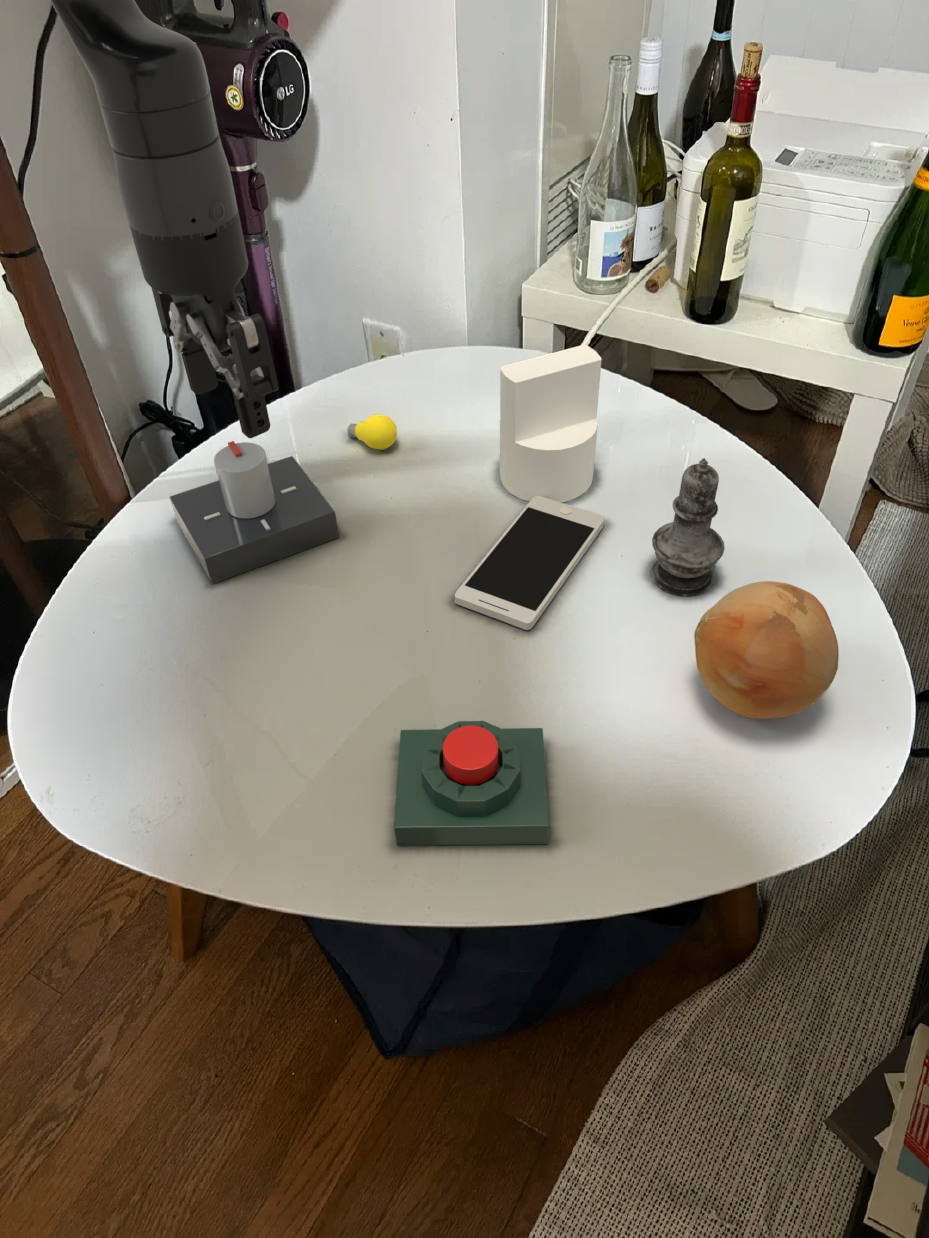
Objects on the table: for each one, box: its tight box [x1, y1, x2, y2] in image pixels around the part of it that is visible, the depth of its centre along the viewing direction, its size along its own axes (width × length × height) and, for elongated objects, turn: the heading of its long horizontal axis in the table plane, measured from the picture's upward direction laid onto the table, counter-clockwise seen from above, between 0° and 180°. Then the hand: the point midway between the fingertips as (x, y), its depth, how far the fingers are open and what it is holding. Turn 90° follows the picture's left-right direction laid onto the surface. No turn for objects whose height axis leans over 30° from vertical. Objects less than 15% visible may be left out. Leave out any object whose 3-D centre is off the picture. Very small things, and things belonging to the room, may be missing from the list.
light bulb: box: [346, 413, 398, 451], centre depth 93 cm, size 3×6×4 cm, turn 57°
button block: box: [393, 720, 550, 847], centre depth 62 cm, size 10×8×4 cm
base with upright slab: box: [499, 344, 603, 503], centre depth 85 cm, size 9×9×12 cm
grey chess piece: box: [650, 457, 726, 598], centre depth 74 cm, size 6×6×12 cm
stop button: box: [443, 726, 498, 785], centre depth 60 cm, size 4×4×2 cm
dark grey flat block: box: [169, 455, 340, 585], centre depth 83 cm, size 12×10×3 cm
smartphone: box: [454, 495, 605, 631], centre depth 80 cm, size 7×16×1 cm, turn 151°
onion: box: [693, 580, 840, 720], centre depth 66 cm, size 10×10×10 cm
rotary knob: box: [213, 440, 276, 519], centre depth 80 cm, size 4×4×5 cm
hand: (230, 411), depth 76 cm, fingers open, 8 cm apart
